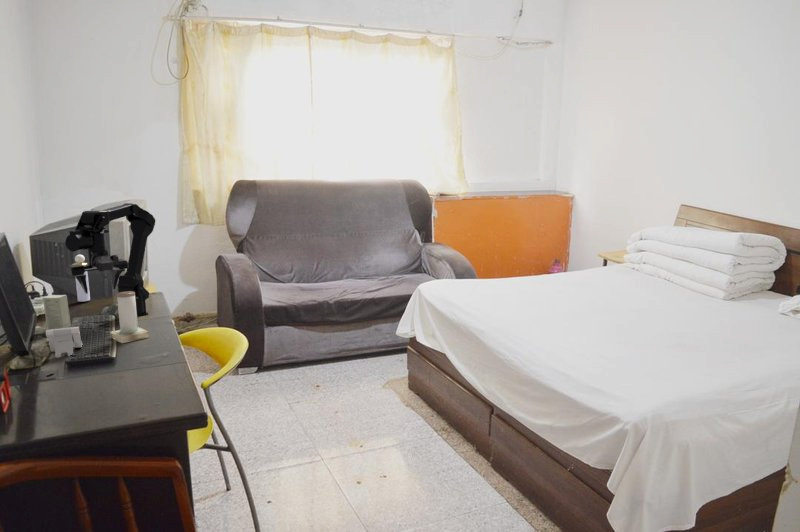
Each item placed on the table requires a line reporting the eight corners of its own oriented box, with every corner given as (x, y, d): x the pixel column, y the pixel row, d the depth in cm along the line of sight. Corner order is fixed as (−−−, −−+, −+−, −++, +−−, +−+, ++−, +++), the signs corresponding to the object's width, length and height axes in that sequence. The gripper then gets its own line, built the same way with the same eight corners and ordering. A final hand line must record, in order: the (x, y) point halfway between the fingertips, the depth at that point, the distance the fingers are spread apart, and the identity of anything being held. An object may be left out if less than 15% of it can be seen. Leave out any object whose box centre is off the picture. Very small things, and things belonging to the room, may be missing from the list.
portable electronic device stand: (82, 347, 187) (80, 322, 186) (80, 355, 180) (77, 328, 179) (51, 351, 184) (48, 325, 182) (48, 358, 177) (44, 332, 175)
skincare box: (71, 328, 208) (68, 294, 205) (63, 332, 203) (59, 297, 201) (54, 327, 208) (51, 294, 206) (46, 331, 204) (42, 297, 202)
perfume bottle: (95, 301, 246) (90, 253, 243) (83, 304, 241) (78, 255, 237) (85, 299, 249) (80, 252, 245) (73, 302, 243) (68, 255, 240)
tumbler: (129, 327, 200) (126, 290, 198) (142, 329, 198) (138, 291, 196) (116, 332, 195) (112, 294, 193) (129, 334, 193) (125, 295, 191)
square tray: (137, 331, 203) (137, 325, 203) (149, 337, 197) (148, 330, 197) (110, 337, 197) (109, 331, 196) (121, 343, 191) (121, 336, 190)
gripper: (75, 253, 192) (80, 299, 194) (133, 246, 205) (137, 290, 208) (63, 249, 199) (68, 294, 202) (120, 243, 212) (123, 285, 215)
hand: (100, 291), depth 207 cm, fingers open, 9 cm apart
